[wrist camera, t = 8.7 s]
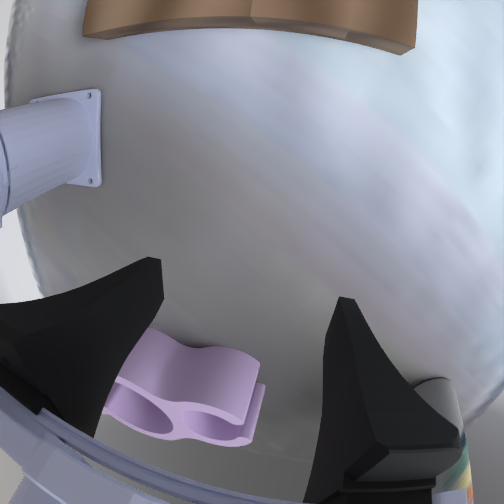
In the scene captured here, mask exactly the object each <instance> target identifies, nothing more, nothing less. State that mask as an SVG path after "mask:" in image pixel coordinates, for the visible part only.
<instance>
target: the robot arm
mask: <svg viewBox="0 0 504 504" xmlns="http://www.w3.org/2000/svg"><path fill="white" fill-rule="evenodd" d="M90 93H91V98H90ZM100 112H101V91H100V90H99V89H89V90H81V91H74V92H68V93H62V94H57V95H51V96H46V97H41V98H36V99H32V100H30V102H29V104H25V105H20V106H16V107H11V108H7V109H3V110H0V228H1V227H2V216H3V215H5V214H7V213H9V212H10V211H12V210H14V209H16V208H18V207H19V206H21V205H23V204H25V203H27V202H28V201H30V200H32V199H34V198H36V197H38V196H40V195H42V194H44V193H46V192H48V191H50V190H52V189H54V188H56V187H58V186H60V185H62V184H64V183H65V184H73V185H81V186H89V187H98V186H100V185H101V183H102V176H101V151H100ZM91 179H92V181H93V182H92V181H91ZM163 300H164V291H163V280H162V268H161V259H157V258H152V257H146V258H143V259H141V260H139V261H136V262H134V263H132V264H130V265H128V266H126V267H124V268H122V269H120V270H117V271H115V272H113V273H111V274H109V275H107V276H105V277H103V278H100V279H98V280H96V281H93V282H91V283H89V284H87V285H84V286H82V287H79V288H76V289H73V290H70V291H67V292H64V293H61V294H57V295H54V296H50V297H46V298H42V299H37V300H32V301H26V302H19V303H7V304H0V447H1V448H2V449H3V450H4V451H5V452H6V453H7V454H8V455H9V456H10V457H11V458H12V459H13V460H14V461H15V462H17V463H18V464H19V465H20V466H21V467H22V471H23V473H24V475H25V476H24V478H23V479H22V481H21V483H20V484H19V486H18V488H17V490H16V491H15V493H14V495H13V497H12V498H11V500H10V502H9V504H171V503H168V502H166V501H163V500H160V499H158V498H156V497H153V496H151V495H149V494H146V493H144V492H142V491H140V490H137V489H135V488H133V487H131V486H129V485H126V484H124V483H122V482H120V481H118V480H116V479H114V478H112V477H110V476H108V475H106V474H104V473H102V472H100V471H98V470H96V469H94V468H93V467H92V466H91V465H90V464H88V463H87V462H86V461H85V460H84V458H83V457H82V456H81V455H80V454H78V453H76V452H75V451H74V450H76V451H78V452H79V453H81V454H83V455H84V456H86V457H88V458H90V459H91V460H93V461H95V462H97V463H99V464H101V465H102V466H104V467H106V468H108V469H110V470H112V471H114V472H117V473H118V474H120V475H123V476H125V477H127V478H129V479H131V480H133V481H136V482H138V483H140V484H143V485H145V486H147V487H150V488H152V489H155V490H158V491H160V492H163V493H165V494H168V495H171V496H174V497H176V498H179V499H182V500H185V501H188V502H192V503H195V504H467V491H466V489H465V488H463V489H458V490H453V491H448V492H442V493H438V494H435V495H432V488H434V487H435V486H436V476H438V475H440V474H441V473H443V472H444V471H446V470H447V469H449V468H450V467H452V466H453V465H454V464H455V463H456V462H458V460H459V459H460V458H461V456H462V445H461V439H460V434H459V430H458V428H457V427H456V426H455V425H453V424H452V423H451V422H449V421H448V420H447V419H446V418H444V417H443V416H442V415H440V414H439V413H438V412H437V411H436V410H434V409H433V408H432V407H431V406H430V405H429V404H428V403H427V402H426V401H425V400H424V399H423V398H422V397H421V396H420V395H419V394H418V393H417V392H416V391H415V390H414V389H413V388H412V387H411V386H410V385H409V384H408V383H407V381H406V380H405V379H404V378H403V377H402V375H401V374H400V373H399V372H398V370H397V369H396V368H395V366H394V365H393V364H392V362H391V361H390V360H389V358H388V357H387V355H386V354H385V352H384V351H383V349H382V348H381V346H380V345H379V343H378V341H377V340H376V338H375V336H374V334H373V333H372V331H371V329H370V327H369V326H368V324H367V322H366V320H365V318H364V316H363V314H362V312H361V311H360V309H359V307H358V305H357V303H356V301H355V300H354V299H350V298H345V297H339V298H338V301H337V304H336V307H335V310H334V313H333V316H332V319H331V322H330V325H329V327H328V330H327V333H326V338H325V346H324V355H323V406H322V417H321V424H320V430H319V436H318V442H317V447H316V452H315V457H314V461H313V466H312V470H311V475H310V478H309V482H308V486H307V490H306V493H305V497H304V500H303V503H299V502H291V501H283V500H276V499H270V498H264V497H259V496H253V495H248V494H243V493H239V492H234V491H230V490H226V489H222V488H218V487H214V486H211V485H207V484H204V483H200V482H197V481H194V480H191V479H188V478H184V477H181V476H178V475H176V474H173V473H170V472H167V471H165V470H162V469H159V468H157V467H154V466H152V465H149V464H147V463H144V462H142V461H140V460H137V459H135V458H133V457H130V456H128V455H126V454H124V453H122V452H120V451H117V450H115V449H113V448H111V447H109V446H107V445H105V444H103V443H101V442H100V441H98V440H96V439H94V435H95V431H96V428H97V425H98V422H99V419H100V416H101V413H102V410H103V408H104V405H105V403H106V400H107V398H108V395H109V393H110V391H111V388H112V386H113V384H114V382H115V380H116V378H117V376H118V374H119V372H120V370H121V368H122V366H123V364H124V362H125V360H126V359H127V357H128V355H129V354H130V352H131V351H132V350H133V348H134V347H135V345H136V344H137V342H138V341H139V339H140V338H141V337H142V335H143V334H144V332H145V331H146V329H147V328H148V326H149V325H150V324H151V322H152V321H153V319H154V318H155V316H156V314H157V312H158V310H159V308H160V306H161V304H162V302H163ZM67 445H68V446H69V447H68V446H67ZM70 447H71V448H73V449H74V450H73V449H71V448H70Z"/></svg>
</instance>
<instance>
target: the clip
mask: <svg viewBox="0 0 504 504" xmlns="http://www.w3.org/2000/svg"><path fill="white" fill-rule="evenodd" d="M259 367H260V363H259V362H258V361H257V360H256V359H254V358H253V357H251V356H250V355H248V354H246V353H244V352H241V351H239V350H236V349H233V348H228V347H222V346H210V347H205V348H191V347H188V346H185V345H182V344H180V343H179V342H177V341H175V340H174V339H172V338H171V337H169V336H167V335H165V334H163V333H161V332H159V331H157V330H155V329H152V328H149V327H148V328H147V329H146V331H145V332H144V334H143V335H142V337H141V338H140V339H139V341H138V342H137V344H136V345H135V347H134V348H133V350H132V351H131V352H130V354H129V355H128V357H127V359H126V360H125V362H124V364H123V366H122V368H121V370H120V372H119V374H118V376H117V378H116V380H115V382H114V384H113V386H112V388H111V391H110V393H109V395H108V398H107V400H106V403H105V405H104V408H103V410H102V414H105V415H106V414H109V415H111V416H113V417H114V418H116V419H117V420H118V421H120V422H122V423H123V424H125V425H127V426H129V427H130V428H133V429H135V430H136V431H139V432H141V433H144V434H146V435H149V436H152V437H155V438H159V439H165V440H178V439H181V438H193V439H198V440H202V441H205V442H208V443H211V444H216V445H221V446H230V447H237V446H244V445H247V444H249V443H251V442H252V439H253V435H254V431H255V427H256V423H257V419H258V415H259V412H260V408H261V404H262V399H263V395H264V391H265V385H264V384H261V383H257V382H256V379H257V375H258V371H259ZM255 382H256V383H255Z"/></svg>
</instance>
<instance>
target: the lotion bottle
mask: <svg viewBox="0 0 504 504" xmlns="http://www.w3.org/2000/svg"><path fill="white" fill-rule="evenodd" d="M414 390H415V391H416V392H417V393H418V394H419V395H420V396H421V397H422V398H423V399H424V400H425V401H426V402H427V403H428V404H429V405H430V406H431V407H432V408H433V409H434V410H436V411H437V412H438V413H439V414H440V415H442V416H443V417H444V418H446V419H447V420H448V421H449V422H451V423H452V424H453V425H455V426H456V427H457V428H458V430H459V434H460V439H461V445H462V456H461V458H460V459H459V460H458V462H456V463H455V464H454V465H453V466H452V467H450V468H449V469H447V470H446V471H444V472H443V473H441V474H440V475H438V476H436V486H435V487H434V488H432V495H435V494H438V493H442V492H448V491H453V490H458V489H463V488H465V489H466V491H467V504H473V490H472V479H471V470H470V463H469V456H468V450H467V444H466V438H465V433H464V428H463V423H462V418H461V413H460V409H459V405H458V401H457V397H456V393H455V390H454V386H453V384H452V382H451V381H449V380H447V379H444V378H438V379H432V380H429V381H426V382H424V383H422V384H420V385H418V386H417V387H415V388H414Z"/></svg>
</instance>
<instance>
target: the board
mask: <svg viewBox="0 0 504 504" xmlns="http://www.w3.org/2000/svg"><path fill="white" fill-rule="evenodd" d="M417 12H418V0H88V2H87V7H86V13H85V18H84V25H83V31H82V36H84V37H92V38H100V39H107V40H109V39H114V38H119V37H124V36H130V35H137V34H143V33H151V32H159V31H169V30H182V29H199V28H247V29H265V30H277V31H287V32H295V33H303V34H310V35H317V36H323V37H328V38H334V39H339V40H344V41H348V42H353V43H357V44H361V45H365V46H369V47H373V48H377V49H381V50H384V51H388V52H391V53H394V54H397V55H402V54H404V53H406V52H408V51H409V50H411V49H413V48H415V42H416V29H417Z"/></svg>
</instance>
